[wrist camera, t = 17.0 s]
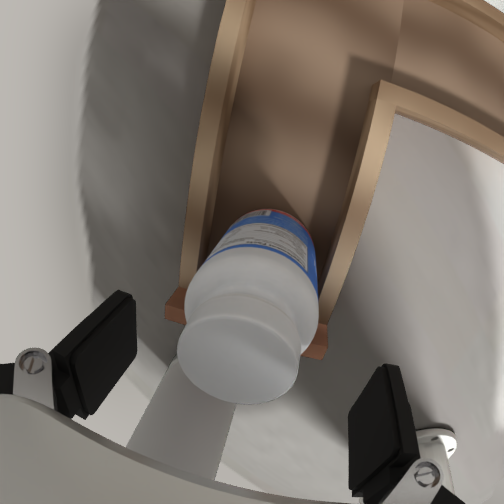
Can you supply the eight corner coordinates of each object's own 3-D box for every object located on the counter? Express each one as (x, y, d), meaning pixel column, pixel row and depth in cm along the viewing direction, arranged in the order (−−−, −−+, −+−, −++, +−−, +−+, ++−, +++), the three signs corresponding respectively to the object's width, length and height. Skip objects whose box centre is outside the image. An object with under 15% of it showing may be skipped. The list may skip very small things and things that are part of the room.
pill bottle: (292, 303, 19) (275, 433, 10) (213, 269, 19) (145, 382, 10) (331, 228, 17) (353, 341, 8) (243, 190, 17) (173, 266, 8)
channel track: (448, 336, 19) (469, 380, 15) (193, 277, 21) (164, 318, 16) (533, 60, 10) (576, 55, 5) (256, -46, 11) (239, -88, 7)
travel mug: (245, 351, 23) (164, 609, 5) (240, 401, 25) (180, 603, 7) (170, 335, 24) (46, 553, 5) (176, 386, 26) (90, 567, 8)
